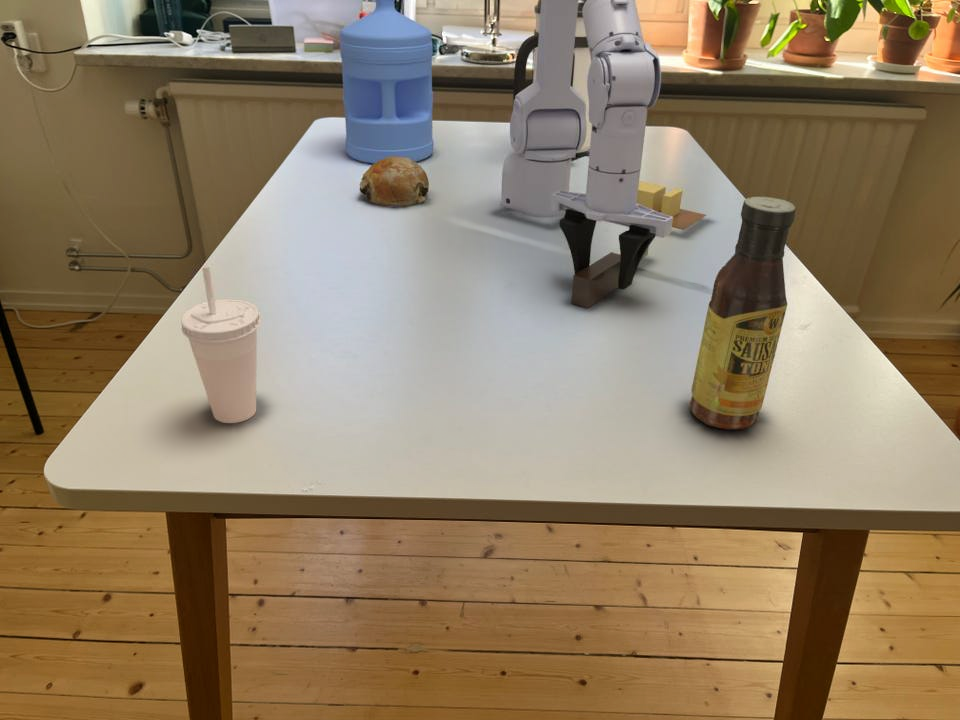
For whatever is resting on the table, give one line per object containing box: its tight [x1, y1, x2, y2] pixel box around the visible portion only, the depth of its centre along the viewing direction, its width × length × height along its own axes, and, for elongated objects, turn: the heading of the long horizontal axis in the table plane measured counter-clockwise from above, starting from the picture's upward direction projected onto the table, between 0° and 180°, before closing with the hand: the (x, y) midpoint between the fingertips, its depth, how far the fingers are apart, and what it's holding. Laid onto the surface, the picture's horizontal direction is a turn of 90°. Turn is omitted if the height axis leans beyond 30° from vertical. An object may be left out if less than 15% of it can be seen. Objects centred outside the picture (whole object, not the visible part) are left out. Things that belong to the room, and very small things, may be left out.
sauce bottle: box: [689, 196, 797, 431], centre depth 69 cm, size 6×6×20 cm
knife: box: [570, 246, 650, 309], centre depth 99 cm, size 2×17×4 cm, turn 144°
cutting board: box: [659, 208, 707, 231], centre depth 120 cm, size 14×8×1 cm, turn 54°
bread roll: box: [359, 156, 430, 207], centre depth 125 cm, size 10×10×8 cm
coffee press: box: [512, 0, 592, 154], centre depth 141 cm, size 17×16×30 cm
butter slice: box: [661, 188, 683, 217], centre depth 117 cm, size 1×4×4 cm, turn 144°
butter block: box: [637, 180, 667, 212], centre depth 120 cm, size 7×4×4 cm, turn 54°
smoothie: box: [180, 265, 262, 424], centre depth 70 cm, size 6×6×14 cm
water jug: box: [339, 0, 435, 165], centre depth 140 cm, size 16×16×28 cm
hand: (602, 279), depth 97 cm, fingers open, 5 cm apart
